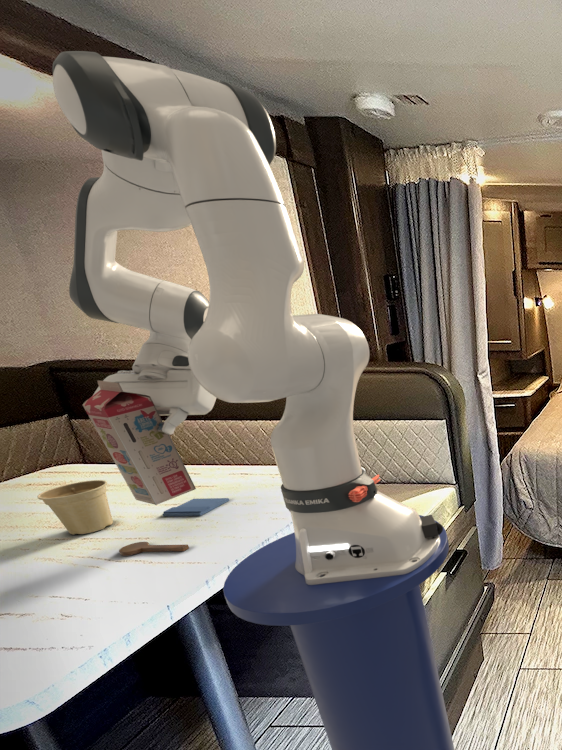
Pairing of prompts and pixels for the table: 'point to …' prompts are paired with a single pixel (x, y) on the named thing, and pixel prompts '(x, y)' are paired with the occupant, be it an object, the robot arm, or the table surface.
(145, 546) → the wooden spoon
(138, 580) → the table surface
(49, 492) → the flower pot
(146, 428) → the juice carton
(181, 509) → the cloth
